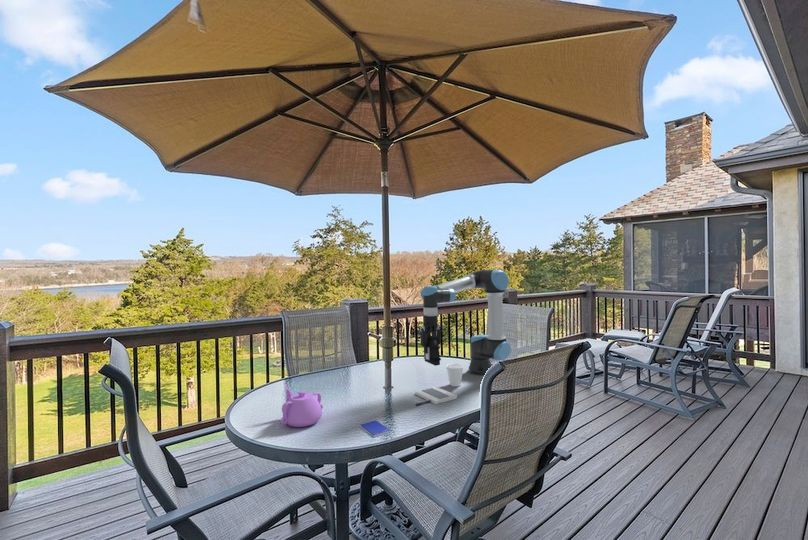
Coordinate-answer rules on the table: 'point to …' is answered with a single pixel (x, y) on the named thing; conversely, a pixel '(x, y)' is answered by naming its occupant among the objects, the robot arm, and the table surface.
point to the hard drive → (375, 428)
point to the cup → (455, 374)
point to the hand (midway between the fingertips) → (431, 358)
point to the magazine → (433, 351)
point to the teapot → (301, 409)
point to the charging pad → (435, 395)
